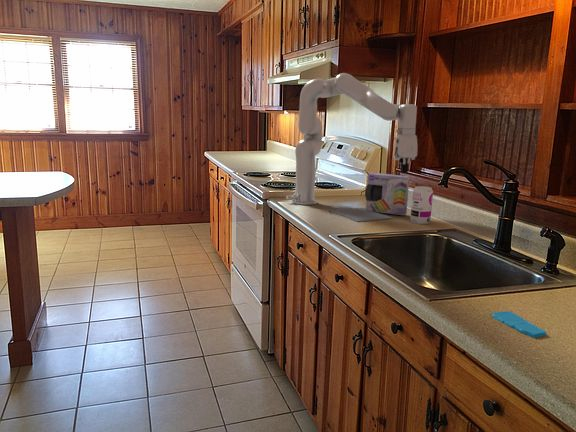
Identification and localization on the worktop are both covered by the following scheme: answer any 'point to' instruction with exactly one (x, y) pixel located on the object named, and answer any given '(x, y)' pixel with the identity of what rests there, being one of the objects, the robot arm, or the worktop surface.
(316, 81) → the robot arm
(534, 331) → the sponge
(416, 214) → the supplement can
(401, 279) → the worktop surface
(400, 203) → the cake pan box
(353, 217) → the mat
